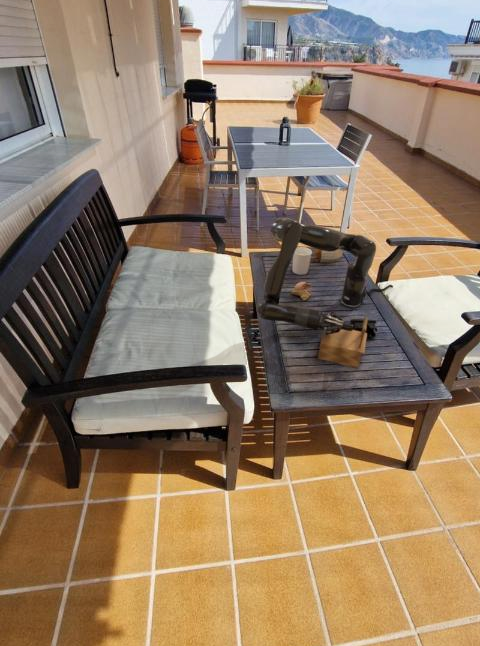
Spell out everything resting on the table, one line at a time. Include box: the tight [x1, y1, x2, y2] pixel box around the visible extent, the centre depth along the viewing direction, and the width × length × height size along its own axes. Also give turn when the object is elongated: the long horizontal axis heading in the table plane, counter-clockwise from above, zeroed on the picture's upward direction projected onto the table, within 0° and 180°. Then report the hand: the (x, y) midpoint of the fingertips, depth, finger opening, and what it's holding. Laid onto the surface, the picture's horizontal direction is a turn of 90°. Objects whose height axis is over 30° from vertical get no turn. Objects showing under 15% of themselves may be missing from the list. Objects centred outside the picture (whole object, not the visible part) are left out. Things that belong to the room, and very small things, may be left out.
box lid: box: [320, 316, 369, 355], centre depth 149 cm, size 16×13×10 cm
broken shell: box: [290, 281, 313, 301], centre depth 187 cm, size 9×10×10 cm
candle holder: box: [291, 246, 313, 276], centre depth 206 cm, size 10×10×12 cm
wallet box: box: [317, 343, 363, 369], centre depth 154 cm, size 16×13×7 cm
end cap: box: [349, 318, 378, 340], centre depth 165 cm, size 10×7×7 cm
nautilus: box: [310, 249, 344, 264], centre depth 219 cm, size 8×22×15 cm
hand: (352, 327), depth 147 cm, fingers closed
